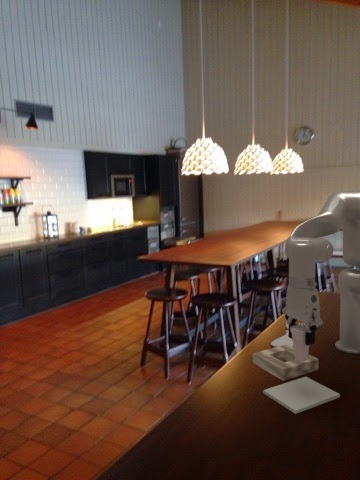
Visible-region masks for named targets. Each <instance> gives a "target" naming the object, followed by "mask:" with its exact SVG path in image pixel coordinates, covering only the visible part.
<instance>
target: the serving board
mask: <svg viewBox="0 0 360 480" xmlns="http://www.w3.org/2000/svg"><path fill="white" fill-rule="evenodd" d="M262 392H263V393H262V394H264V395H266V396H267V397H268V398H270V399H272V400H273V401H274V402H276V403H278V404H279V405H281V406H282V407H284V408H286V409H287V410H289V411H291V412H292V413H293V414H295V415H296V414H298V413H299V414H300V413H301V412H303V411H307V410H310V409H313V408H315V407H317V406H321V405H323V404H325V403H326V404H327V403H328V402H331V401H334V400H336V399H339V398H340V397H341V394H340V393H338V392H337V391H335V390H332V389H330V388H329V387H327V386H325V385H323V384H321V383H319V382H317V381H315V380H313V379H311V378H309V377H308V376H303V377H301V378H297V379H294V380H290V381H288V382H285V383H281V384H279V385H276V386H272V387H268V388H267V389H266V388H265V389H263V390H262Z"/></svg>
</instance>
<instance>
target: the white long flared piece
mask: <svg viewBox="0 0 360 480" xmlns="http://www.w3.org/2000/svg"><path fill="white" fill-rule="evenodd" d="M296 324H297V325H302V323H301V322H299V323H297V322H296ZM304 325H305V323H304ZM285 327H286V328H287V329H286V330H285V331H284V332H285V333H284V335H282V336H280V337H277V338H276V339H274V340H272V341H271V342H270V344H271V346H272V347H273V348H275V347H279V346H282V345H286V344H287V345H289V346H291V347H293V339H292V338H289V337H288V335H289V325H288V324H287V320H286V323H285ZM293 348H294V347H293Z"/></svg>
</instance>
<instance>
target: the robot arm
mask: <svg viewBox="0 0 360 480" xmlns="http://www.w3.org/2000/svg"><path fill="white" fill-rule="evenodd" d="M340 230H342V260H343V262H344V264H346V265H348V266H354V267H360V190H338V191H334V192H332V193H331V194H330V195H329V196H328V197H327V199H326V201H325V202H324V204H323V206H322V207H321V209H320V211H319V212H318V214H317V215H315V216H313V217H311V218H309V219H307V220H306V221H303V222H301V223H300V224H298V225H297V226H296V227H294V229H292V232H291V233H290V235H289V236H288V238H287V240H286V243H285V246H284V252H285V255H286V257H287V258H288V260H289V261H288V286H287V289H286V296H285V306H284V307H283V308H282V310H281V312H282V313H283V315H284V318H285V320H286V321H287V324H288V325H289V329H288V330H289V335H288V337H289V338H291V339H292V332H291V331H290V330H291V326H293V325H298V323H297V322H298V321H299V322H301V323H302V322H304V323H305V325H306V329H307V332H306V333H305V344H306V345H307V346H308V345H309V346H312V345H314V344H315V342H316V332H317V331H318V330H319V329H320V327H322V326H323V325H324V321H323V320H322V318H321V312H320V311H321V307H320V306H321V305H320V296H319V292H318V289H317V288H316V287H317V285H318V283H317V282H316V264H324V263H327V262H329V261H330V260H331V259H332V257H333V255H334V245H333V244H332V242H331V241H330V240H328V239H325V238H322V237H326V236H331V235H334V234H336V233H338V232H340ZM337 277H338V279H337V280H338V287H339V295H340V296H339V298H340V309H339V311H340V313H339V340H338V341H336V342H335V348H336V349H338V350H339V351H341V352H344V353H347V354H353V355H354V354H355V355H358V354H359V355H360V268H344V269H342V270H341V271H340V272H339V274H338V276H337ZM296 323H297V324H296Z"/></svg>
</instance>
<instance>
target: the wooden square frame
mask: <svg viewBox="0 0 360 480" xmlns="http://www.w3.org/2000/svg"><path fill="white" fill-rule="evenodd" d="M252 364H253V365H254V366H257V368H259V369H261V370H263V371H265V372H266V373H268V374H270V375H272V376H273V377H275V378H278V379H279V380H281V381H287V380H290V379H294V378H298V377H301V376H303V375H306V374H307V375H308V374H310V373H313V372H316V371H318V370H319V358H317V357H316V356H313V355H311V354H309V353H308V359H307V360H306V361H298V360H296V359H295V355H294V347H291V346H289V345H287V344H286V345H282V346H279V347H272V348H268V349H263V350H260V351H257V352H253V354H252Z"/></svg>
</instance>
